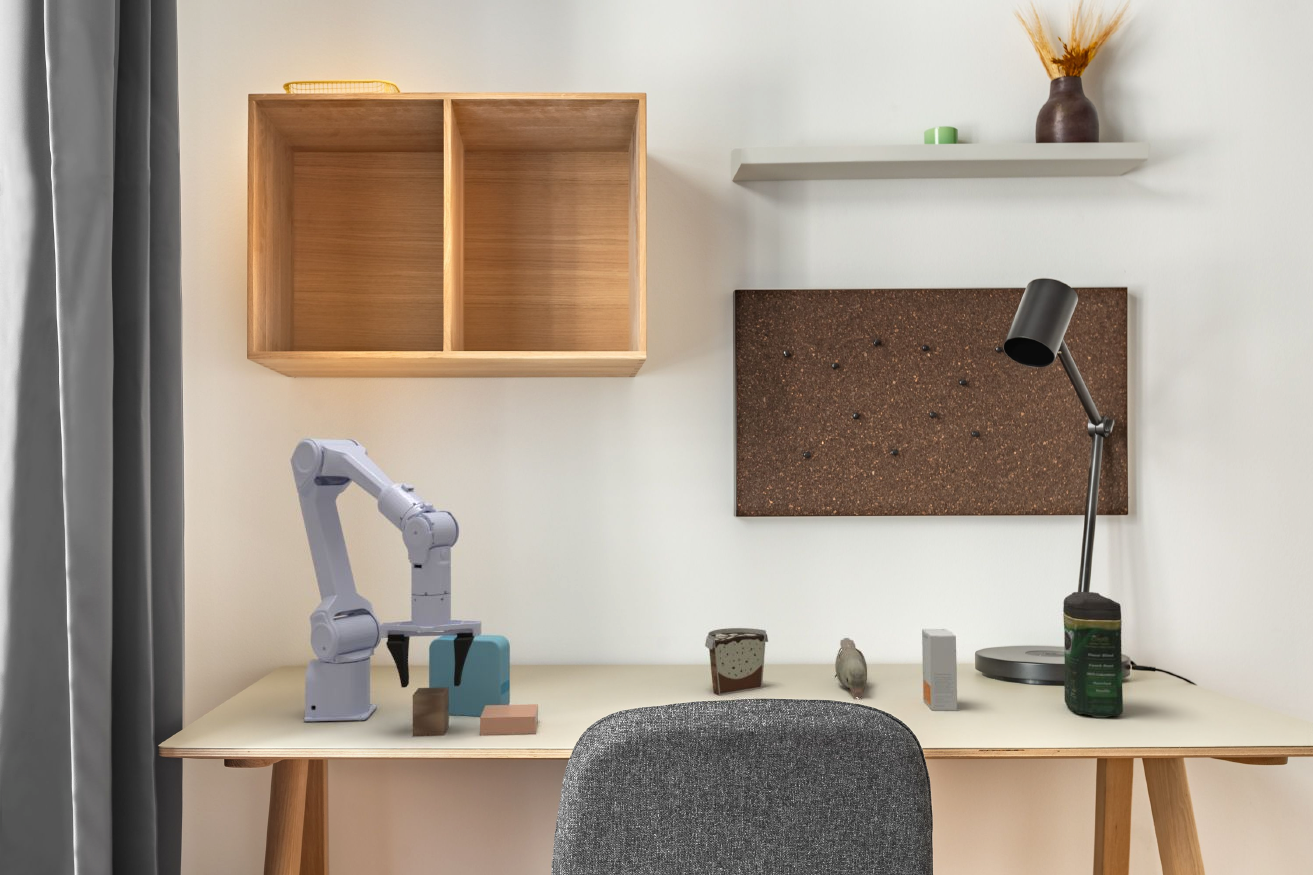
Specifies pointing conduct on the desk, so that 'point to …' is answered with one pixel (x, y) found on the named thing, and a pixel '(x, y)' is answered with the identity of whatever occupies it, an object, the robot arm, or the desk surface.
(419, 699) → the walnut block
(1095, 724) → the desk surface
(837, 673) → the decorative bird
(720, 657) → the food container
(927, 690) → the skincare box
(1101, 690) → the coffee jar
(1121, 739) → the desk surface
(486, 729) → the terracotta plinth
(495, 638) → the teal rounded block
